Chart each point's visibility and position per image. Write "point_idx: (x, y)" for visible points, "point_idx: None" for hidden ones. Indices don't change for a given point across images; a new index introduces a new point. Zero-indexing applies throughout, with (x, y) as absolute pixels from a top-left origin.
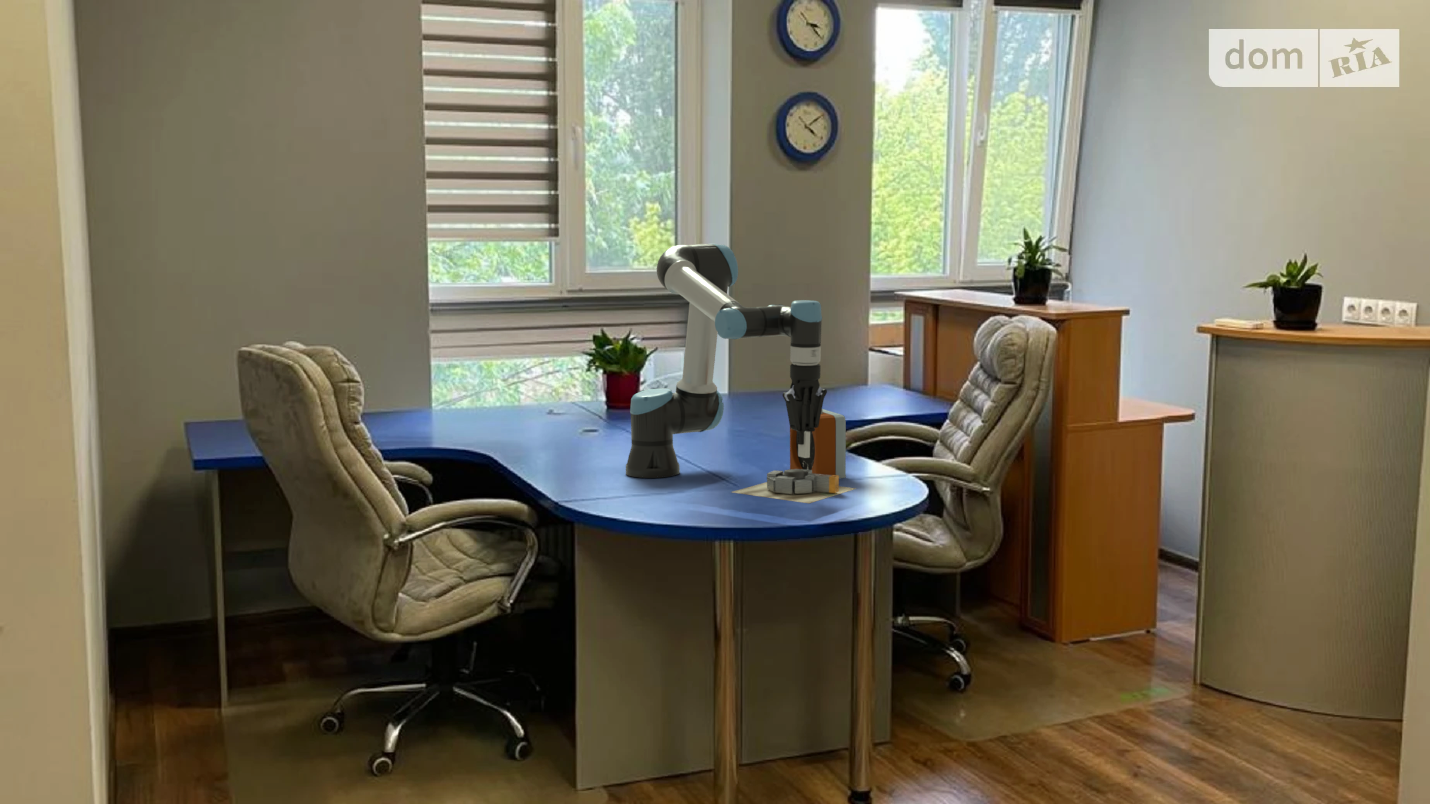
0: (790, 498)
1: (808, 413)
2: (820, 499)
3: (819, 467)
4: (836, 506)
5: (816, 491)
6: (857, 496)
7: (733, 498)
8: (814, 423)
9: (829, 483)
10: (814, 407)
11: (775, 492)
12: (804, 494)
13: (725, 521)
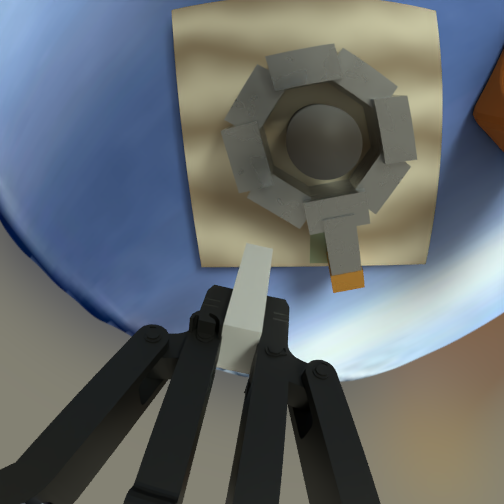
0: (214, 196)
1: (234, 460)
2: None
3: (499, 129)
4: (274, 289)
5: None
6: (400, 270)
7: None
8: (290, 410)
9: (329, 266)
10: (325, 489)
11: None
12: None
13: (27, 195)
